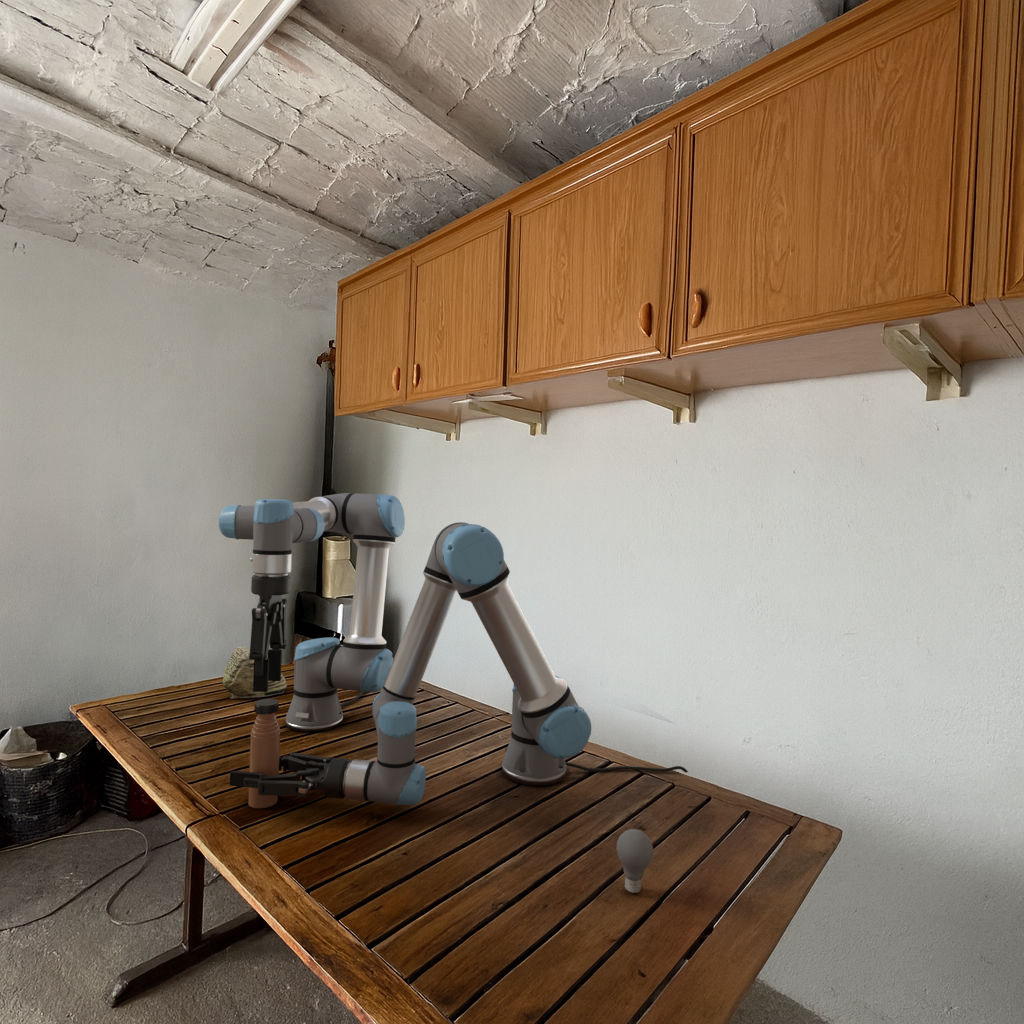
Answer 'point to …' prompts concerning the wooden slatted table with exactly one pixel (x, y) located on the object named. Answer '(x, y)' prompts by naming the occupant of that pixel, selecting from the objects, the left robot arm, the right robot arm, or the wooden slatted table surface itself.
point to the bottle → (264, 756)
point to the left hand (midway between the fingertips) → (267, 685)
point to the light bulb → (634, 857)
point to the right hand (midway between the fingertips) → (241, 769)
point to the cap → (266, 706)
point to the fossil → (246, 677)
